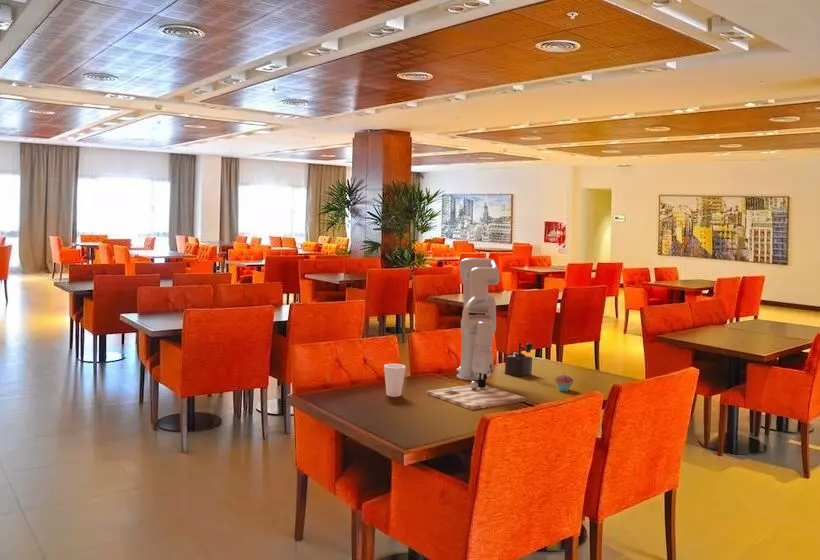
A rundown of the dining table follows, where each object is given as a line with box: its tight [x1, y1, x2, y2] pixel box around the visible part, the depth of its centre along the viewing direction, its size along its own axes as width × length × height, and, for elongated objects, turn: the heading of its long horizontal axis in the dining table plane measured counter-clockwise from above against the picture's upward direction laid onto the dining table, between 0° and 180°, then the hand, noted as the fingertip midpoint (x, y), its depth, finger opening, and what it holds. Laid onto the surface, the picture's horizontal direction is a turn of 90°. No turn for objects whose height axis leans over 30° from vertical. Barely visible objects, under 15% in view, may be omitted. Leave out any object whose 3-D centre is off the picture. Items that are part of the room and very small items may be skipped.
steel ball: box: [469, 380, 479, 390], centre depth 322 cm, size 4×4×4 cm
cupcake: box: [554, 366, 574, 392], centre depth 335 cm, size 9×8×12 cm
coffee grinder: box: [504, 342, 534, 378], centre depth 365 cm, size 16×11×18 cm
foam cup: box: [383, 363, 407, 398], centre depth 312 cm, size 10×9×13 cm
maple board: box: [426, 384, 527, 411], centre depth 314 cm, size 30×32×2 cm
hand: (481, 387), depth 325 cm, fingers closed
